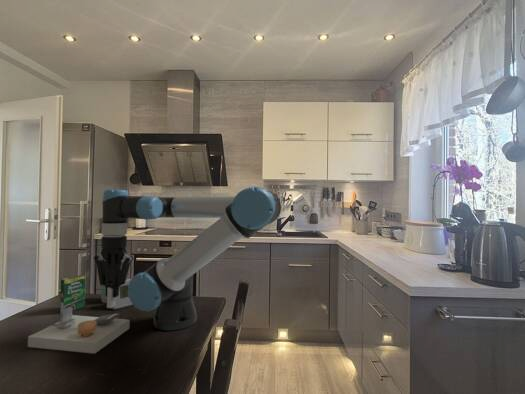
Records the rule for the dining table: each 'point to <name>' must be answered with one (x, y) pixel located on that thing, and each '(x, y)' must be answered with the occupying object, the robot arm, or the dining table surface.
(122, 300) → the digital clock
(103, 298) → the coffee cup
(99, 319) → the grey flat block
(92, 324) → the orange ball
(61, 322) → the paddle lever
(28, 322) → the dining table surface
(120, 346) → the dining table surface
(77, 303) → the coffee box
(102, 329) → the panel
